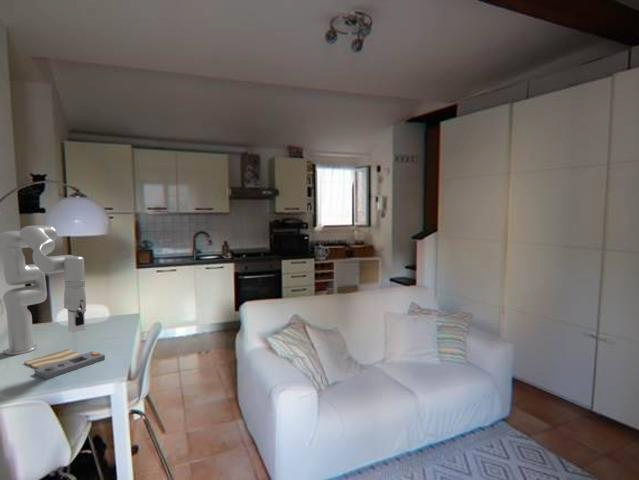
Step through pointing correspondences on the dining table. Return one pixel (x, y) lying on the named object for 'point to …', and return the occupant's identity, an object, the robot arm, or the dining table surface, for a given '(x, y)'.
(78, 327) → the block
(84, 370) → the dining table surface
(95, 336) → the dining table surface
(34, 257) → the robot arm
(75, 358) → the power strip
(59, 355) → the wooden board
